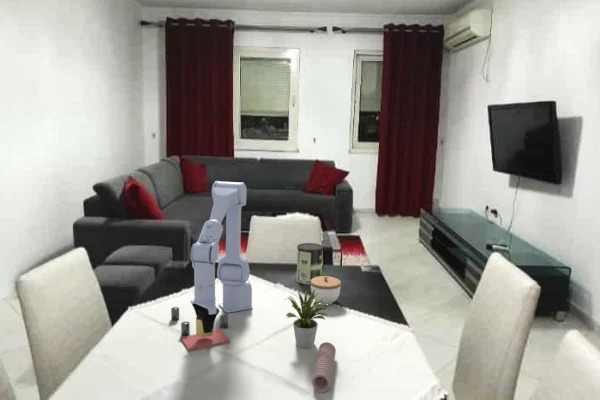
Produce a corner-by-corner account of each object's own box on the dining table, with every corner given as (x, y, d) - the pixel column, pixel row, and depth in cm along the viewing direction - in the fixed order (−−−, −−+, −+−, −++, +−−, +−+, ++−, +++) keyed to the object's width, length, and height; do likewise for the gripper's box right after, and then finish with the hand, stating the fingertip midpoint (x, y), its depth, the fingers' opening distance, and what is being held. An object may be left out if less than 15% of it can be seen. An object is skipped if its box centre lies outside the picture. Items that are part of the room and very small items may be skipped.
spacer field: (214, 310, 159) (214, 300, 159) (229, 327, 147) (229, 316, 146) (170, 318, 152) (170, 307, 152) (182, 336, 140) (182, 325, 139)
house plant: (290, 361, 127) (291, 304, 125) (269, 339, 139) (270, 286, 137) (335, 351, 134) (338, 295, 131) (312, 330, 146) (313, 280, 143)
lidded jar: (305, 304, 166) (306, 278, 165) (316, 294, 176) (316, 270, 174) (334, 310, 162) (335, 283, 161) (343, 299, 172) (345, 274, 170)
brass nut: (211, 328, 141) (211, 312, 140) (216, 334, 137) (216, 318, 136) (193, 331, 138) (193, 315, 137) (198, 338, 134) (198, 321, 133)
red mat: (220, 331, 144) (220, 329, 144) (229, 342, 137) (229, 340, 137) (181, 339, 138) (181, 337, 138) (188, 351, 132) (188, 349, 131)
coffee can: (321, 276, 196) (322, 243, 194) (322, 285, 186) (323, 250, 183) (296, 275, 196) (297, 242, 194) (295, 284, 186) (296, 249, 184)
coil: (318, 340, 131) (310, 375, 113) (335, 340, 130) (329, 375, 113) (319, 356, 132) (311, 393, 114) (336, 356, 131) (331, 393, 113)
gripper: (183, 277, 139) (184, 321, 142) (198, 294, 127) (198, 342, 129) (207, 274, 143) (207, 317, 145) (223, 290, 130) (223, 337, 132)
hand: (205, 328), depth 137 cm, fingers closed on brass nut, 4 cm apart
